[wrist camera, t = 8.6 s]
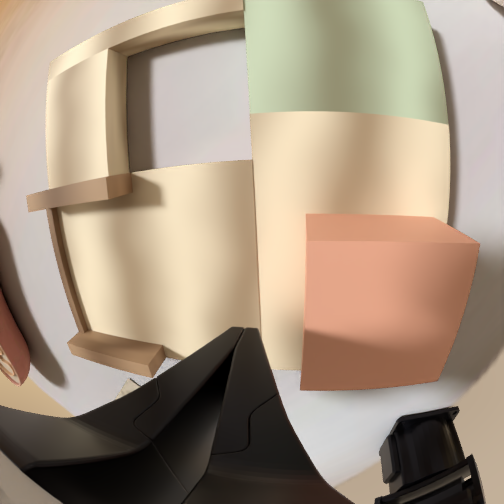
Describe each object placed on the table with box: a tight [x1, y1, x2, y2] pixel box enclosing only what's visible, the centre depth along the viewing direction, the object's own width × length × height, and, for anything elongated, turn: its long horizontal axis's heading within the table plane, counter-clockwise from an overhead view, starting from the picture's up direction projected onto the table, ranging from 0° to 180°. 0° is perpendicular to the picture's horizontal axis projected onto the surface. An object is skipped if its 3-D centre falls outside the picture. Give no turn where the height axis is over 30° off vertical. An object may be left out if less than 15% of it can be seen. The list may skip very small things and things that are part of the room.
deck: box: [46, 0, 450, 370], centre depth 13 cm, size 22×20×2 cm
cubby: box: [26, 173, 166, 378], centre depth 14 cm, size 7×11×2 cm, turn 3°
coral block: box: [300, 214, 480, 391], centre depth 10 cm, size 6×6×4 cm
